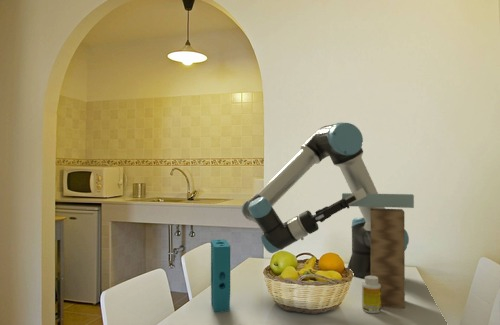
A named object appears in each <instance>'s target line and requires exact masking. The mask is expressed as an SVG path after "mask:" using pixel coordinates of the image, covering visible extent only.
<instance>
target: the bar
mask: <svg viewBox="0 0 500 325" xmlns="http://www.w3.org/2000/svg"><path fill="white" fill-rule="evenodd" d="M352 194H354V193H352V192H351V193H350V192H349V193H348V192H343V193H342V194H341V197H342V198H341V199H342V200H343V199H345V198H346V197H348V196H350V195H352ZM366 195H367V196H366V197H364V198H362V199H360V200H359V201H357V202H355V203H353V204H351V205H349V207H358V208H359V207H385V208H397V209H402V208H403V209H404V208H406V209H414V208H415V200H414V198H415V195H414V194H411V193H409V194H408V193H406V194H405V193H378V194H366Z"/></svg>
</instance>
